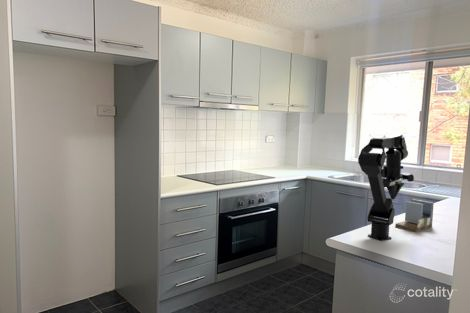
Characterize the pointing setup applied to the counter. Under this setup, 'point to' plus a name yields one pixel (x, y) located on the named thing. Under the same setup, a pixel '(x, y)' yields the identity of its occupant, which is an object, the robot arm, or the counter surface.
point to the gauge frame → (415, 225)
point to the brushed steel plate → (426, 208)
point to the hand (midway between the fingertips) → (392, 199)
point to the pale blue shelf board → (414, 212)
